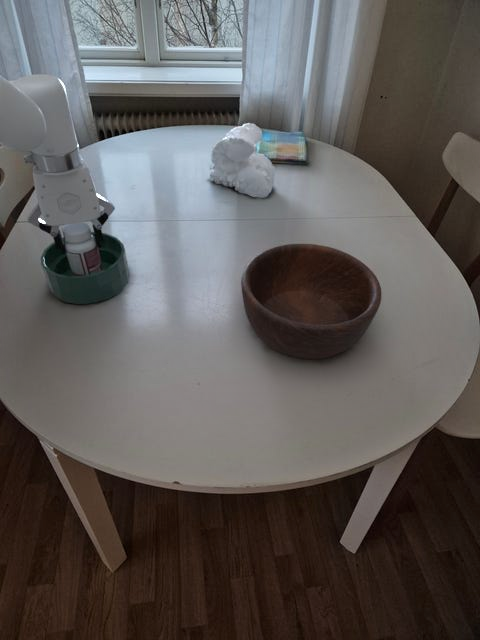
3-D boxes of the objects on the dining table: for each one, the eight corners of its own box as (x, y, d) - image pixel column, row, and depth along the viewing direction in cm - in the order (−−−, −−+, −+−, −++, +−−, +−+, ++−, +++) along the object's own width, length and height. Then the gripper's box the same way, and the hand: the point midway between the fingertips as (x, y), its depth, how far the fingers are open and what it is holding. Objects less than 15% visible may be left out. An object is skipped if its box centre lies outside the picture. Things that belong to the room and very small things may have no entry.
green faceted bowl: (53, 313, 84) (43, 285, 79) (48, 266, 95) (38, 239, 90) (136, 295, 88) (131, 267, 84) (122, 253, 99) (117, 226, 94)
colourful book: (304, 138, 155) (305, 131, 153) (308, 165, 137) (309, 157, 136) (257, 136, 155) (257, 128, 153) (255, 162, 138) (255, 155, 136)
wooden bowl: (263, 384, 72) (267, 342, 65) (225, 293, 90) (225, 251, 83) (393, 356, 78) (410, 314, 71) (334, 275, 95) (343, 235, 88)
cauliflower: (288, 175, 111) (226, 125, 107) (245, 228, 123) (188, 185, 119) (298, 151, 125) (243, 106, 121) (258, 201, 138) (208, 161, 133)
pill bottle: (103, 264, 93) (92, 217, 85) (104, 281, 89) (92, 234, 81) (73, 268, 92) (60, 221, 84) (73, 285, 87) (58, 237, 80)
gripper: (2, 174, 68) (36, 266, 81) (112, 160, 73) (128, 249, 86) (3, 155, 73) (34, 245, 86) (106, 144, 78) (121, 230, 91)
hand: (81, 246), depth 85 cm, fingers closed on pill bottle, 6 cm apart
